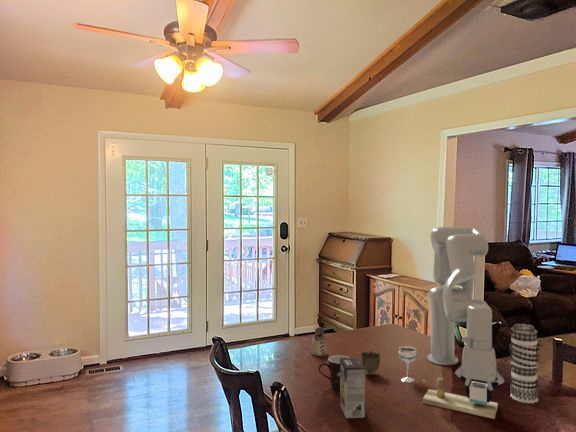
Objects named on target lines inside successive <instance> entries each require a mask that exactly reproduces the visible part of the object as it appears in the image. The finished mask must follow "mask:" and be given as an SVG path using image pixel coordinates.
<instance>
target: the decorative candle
mask: <svg viewBox="0 0 576 432" xmlns="http://www.w3.org/2000/svg"><path fill="white" fill-rule="evenodd" d="M510 330H511V337H510V338H511V339H510V340H509V342H508V343H509V345H508V347H509V354H510V355H509V359H510V360H509V362H510V364H511V370H510V371H511V372H510V374H511V375H510V376H509V377H510V381H509V382H510V383H511V384H510V385H509V388H510V389H509V391H510V395H509V396H510V398H511V397H512V398H511V399H512V400H514V401H516V400H517V402H520V403H524V404H535V402H536V403H537V402H539V398H538V397H539V389H538V387H539V384H538V383H539V379H538V374H537V371H538V370H537V369H538V367H539V364H538V362H539V361H540V359H539V358H538V357H540V354H539V353H537V352H539V351H540V348H539V347H540V346H541V345H540V343H538V338H537V337H538V336H537V335H538V330H536V329H535V326H533V325H532V324H531V325H530V324H527V323H516V324H514V325H513V326H512V327H510Z"/></svg>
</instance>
